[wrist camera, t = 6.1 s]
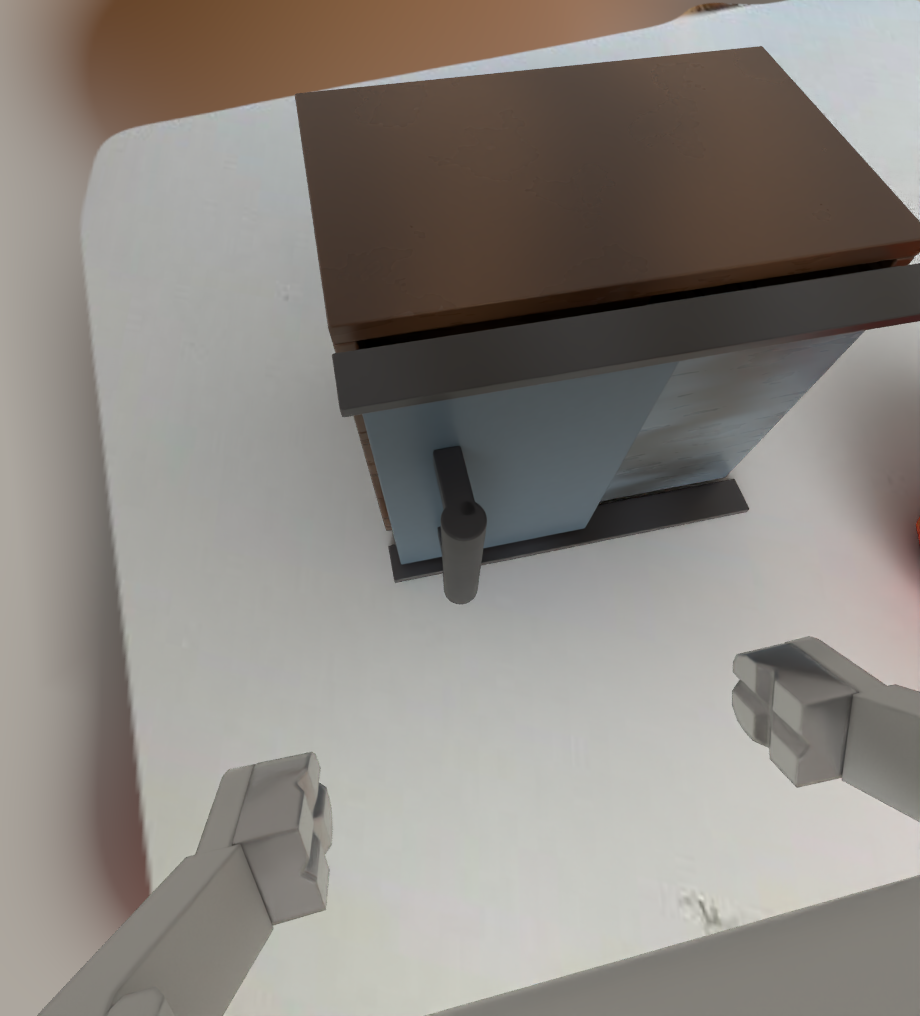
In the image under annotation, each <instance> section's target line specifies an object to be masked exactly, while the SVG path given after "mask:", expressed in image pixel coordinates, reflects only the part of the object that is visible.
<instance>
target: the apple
mask: <svg viewBox="0 0 920 1016" xmlns="http://www.w3.org/2000/svg"><path fill="white" fill-rule="evenodd" d="M916 528H917V534H918V539H919V544H920V517H919V519H918V521H917V523H916Z"/></svg>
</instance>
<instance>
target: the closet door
mask: <svg viewBox="0 0 920 1016" xmlns="http://www.w3.org/2000/svg"><path fill="white" fill-rule="evenodd" d="M678 363H679V361H677V362H671V363H665V364H660V365H654V366H648V367H642V368H636V369H630V370H624V371H618V372H612V373H606V374H600V375H594V376H588V377H582V378H576V379H570V380H564V381H558V382H552V383H546V384H540V385H534V386H528V387H522V388H516V389H510V390H504V391H498V392H492V393H486V394H480V395H474V396H468V397H462V398H456V399H450V400H444V401H438V402H432V403H426V404H420V405H414V406H408V407H402V408H396V409H390V410H384V411H378V412H372V413H366V414H362V415H363V419H364V423H365V427H366V430H367V434H368V438H369V442H370V446H371V450H372V454H373V458H374V461H375V465H376V469H377V473H378V477H379V481H380V485H381V489H382V492H383V496H384V500H385V504H386V508H387V512H388V516H389V519H390V523H391V527H392V531H393V535H394V539H395V543H396V547H397V550H398V554H399V558H400V562H401V564H407V563H412V562H417V561H422V560H427V559H432V558H438V557H442V561H443V582H444V592H445V595H446V597H447V598H448V599H449V600H450V601H451V602H453V603H455V604H466V603H468V602H470V601H471V600H473V599H474V597H475V596H476V593H477V589H478V582H479V575H480V568H481V561H482V554H483V548H488V547H493V546H498V545H503V544H508V543H513V542H518V541H523V540H528V539H533V538H538V537H543V536H548V535H553V534H558V533H564V532H569V531H574V530H579V529H584V528H585V527H586V526H587V524H588V522H589V520H590V518H591V517H592V515H593V513H594V511H595V510H596V508H597V506H598V504H599V503H600V501H601V499H602V497H603V495H604V494H605V492H606V490H607V488H608V487H609V485H610V483H611V481H612V480H613V478H614V476H615V474H616V472H617V471H618V469H619V467H620V465H621V464H622V462H623V460H624V458H625V457H626V455H627V453H628V451H629V449H630V448H631V446H632V444H633V442H634V441H635V439H636V437H637V435H638V434H639V432H640V430H641V428H642V426H643V425H644V423H645V421H646V419H647V418H648V416H649V414H650V412H651V411H652V409H653V407H654V405H655V404H656V402H657V400H658V398H659V396H660V395H661V393H662V391H663V389H664V388H665V386H666V384H667V382H668V381H669V379H670V377H671V375H672V373H673V372H674V370H675V368H676V366H677V365H678Z"/></svg>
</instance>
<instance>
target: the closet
mask: <svg viewBox="0 0 920 1016" xmlns="http://www.w3.org/2000/svg"><path fill="white" fill-rule="evenodd" d="M295 99H296V106H297V113H298V120H299V127H300V134H301V141H302V148H303V155H304V162H305V169H306V176H307V183H308V190H309V197H310V204H311V211H312V218H313V225H314V232H315V239H316V246H317V253H318V260H319V267H320V274H321V281H322V288H323V295H324V302H325V309H326V316H327V323H328V328H329V332H330V335H331V339H332V342H333V346H334V349H335V353H334V354H332V358H333V365H334V372H335V379H336V386H337V393H338V400H339V407H340V412H341V415H342V417H348V416H354V420H355V423H356V427H357V430H358V434H359V437H360V441H361V444H362V448H363V451H364V455H365V458H366V462H367V465H368V469H369V472H370V476H371V479H372V483H373V486H374V490H375V493H376V497H377V500H378V504H379V507H380V511H381V514H382V518H383V521H384V525H385V528H386V530H387V531H388V530H392V527H391V523H390V519H389V516H388V512H387V508H386V504H385V500H384V496H383V492H382V489H381V485H380V481H379V477H378V473H377V469H376V465H375V461H374V458H373V454H372V450H371V446H370V442H369V438H368V434H367V430H366V427H365V423H364V419H363V415H362V414H366V413H372V412H378V411H384V410H390V409H396V408H402V407H408V406H414V405H420V404H426V403H432V402H438V401H444V400H450V399H456V398H462V397H468V396H474V395H480V394H486V393H492V392H498V391H504V390H510V389H516V388H522V387H528V386H534V385H540V384H546V383H552V382H558V381H564V380H570V379H576V378H582V377H588V376H594V375H600V374H606V373H612V372H618V371H624V370H630V369H636V368H642V367H648V366H654V365H660V364H665V363H671V362H677V361H679V363H678V365H677V366H676V368H675V370H674V372H673V373H672V375H671V377H670V379H669V381H668V382H667V384H666V386H665V388H664V389H663V391H662V393H661V395H660V396H659V398H658V400H657V402H656V404H655V405H654V407H653V409H652V411H651V412H650V414H649V416H648V418H647V419H646V421H645V423H644V425H643V426H642V428H641V430H640V432H639V434H638V435H637V437H636V439H635V441H634V442H633V444H632V446H631V448H630V449H629V451H628V453H627V455H626V457H625V458H624V460H623V462H622V464H621V465H620V467H619V469H618V471H617V472H616V474H615V476H614V478H613V480H612V481H611V483H610V485H609V487H608V488H607V490H606V492H605V494H604V495H603V497H602V499H601V501H605V500H610V499H615V498H620V497H625V496H631V495H636V494H641V493H646V492H651V491H656V490H662V489H667V488H672V487H677V486H682V485H687V484H693V483H698V482H703V481H708V480H713V479H718V478H724V477H726V476H727V475H728V474H729V473H730V472H731V470H732V469H733V468H734V467H735V466H736V465H737V464H738V463H739V462H740V461H741V460H742V459H743V458H744V457H745V456H746V455H747V454H748V453H749V452H750V451H751V450H752V448H753V447H754V446H755V445H756V444H757V443H758V442H759V441H760V440H761V439H762V438H763V437H764V436H765V435H766V434H767V433H768V432H769V431H770V430H771V429H772V428H773V426H774V425H775V424H776V423H777V422H778V421H779V420H780V419H781V418H782V417H783V416H784V415H785V414H786V413H787V412H788V411H789V410H790V409H791V408H792V407H793V406H794V405H795V403H796V402H797V401H798V400H799V399H800V398H801V397H802V396H803V395H804V394H805V393H806V392H807V391H808V390H809V389H810V388H811V387H812V386H813V385H814V384H815V383H816V381H817V380H818V379H819V378H820V377H821V376H822V375H823V374H824V373H825V372H826V371H827V370H828V369H829V368H830V367H831V366H832V365H833V364H834V363H835V362H836V361H837V359H838V358H839V357H840V356H841V355H842V354H843V353H844V352H845V351H846V350H847V349H848V348H849V347H850V346H851V345H852V344H853V343H854V342H855V341H856V340H857V339H858V337H859V336H860V335H861V334H862V333H863V332H864V331H865V330H869V329H875V328H881V327H887V326H893V325H899V324H905V323H911V322H917V321H920V263H919V264H912V265H908V264H909V263H910V262H911V261H912V260H913V259H914V256H916V255H918V254H919V253H920V221H919V220H918V219H917V218H916V217H915V216H914V215H913V214H912V213H911V211H910V210H909V209H908V208H907V207H906V206H905V205H904V204H903V202H902V201H901V200H900V199H899V198H898V197H897V196H896V195H895V194H894V192H893V191H892V190H891V189H890V188H889V187H888V186H887V185H886V184H885V182H884V181H883V180H882V179H881V178H880V177H879V176H878V175H877V174H876V172H875V171H874V170H873V169H872V168H871V167H870V166H869V165H868V164H867V162H866V161H865V160H864V159H863V158H862V157H861V156H860V155H859V154H858V152H857V151H856V150H855V149H854V148H853V147H852V146H851V145H850V144H849V142H848V141H847V140H846V139H845V138H844V137H843V136H842V135H841V134H840V132H839V131H838V130H837V129H836V128H835V127H834V126H833V125H832V123H831V122H830V121H829V120H828V119H827V118H826V117H825V116H824V115H823V113H822V112H821V111H820V110H819V109H818V108H817V107H816V106H815V105H814V103H813V102H812V101H811V100H810V99H809V98H808V97H807V96H806V95H805V93H804V92H803V91H802V90H801V89H800V88H799V87H798V86H797V85H796V83H795V82H794V81H793V80H792V79H791V78H790V77H789V76H788V75H787V73H786V72H785V71H784V70H783V69H782V68H781V67H780V66H779V65H778V63H777V62H776V61H775V60H774V59H773V58H772V57H771V56H770V54H769V53H768V52H767V51H766V50H765V49H764V48H763V47H762V46H760V47H750V48H740V49H730V50H720V51H711V52H701V53H691V54H681V55H671V56H661V57H652V58H642V59H632V60H622V61H612V62H602V63H593V64H583V65H573V66H563V67H553V68H544V69H534V70H524V71H514V72H504V73H494V74H485V75H475V76H465V77H455V78H445V79H436V80H426V81H416V82H406V83H396V84H386V85H377V86H367V87H357V88H347V89H337V90H327V91H318V92H308V93H299V94H295ZM748 510H749V507H748V505H747V503H746V501H745V499H744V497H743V495H742V493H741V491H740V489H739V487H738V485H737V483H736V481H735V479H731V480H726V481H721V482H715V483H710V484H705V485H700V486H695V487H690V488H685V489H679V490H674V491H669V492H664V493H659V494H654V495H648V496H643V497H638V498H633V499H628V500H623V501H618V502H612V503H607V504H602V505H598V506H597V508H596V510H595V511H594V513H593V515H592V517H591V518H590V520H589V522H588V524H587V526H586V527H585V528H584V529H579V530H574V531H569V532H564V533H558V534H553V535H548V536H543V537H538V538H533V539H528V540H523V541H518V542H513V543H508V544H503V545H498V546H493V547H488V548H483V554H482V561H481V565H486V564H491V563H496V562H501V561H506V560H511V559H516V558H521V557H525V556H530V555H535V554H540V553H545V552H550V551H555V550H560V549H565V548H570V547H575V546H580V545H585V544H590V543H595V542H600V541H605V540H610V539H615V538H620V537H625V536H630V535H635V534H639V533H644V532H649V531H654V530H659V529H664V528H669V527H674V526H679V525H684V524H689V523H694V522H699V521H704V520H709V519H714V518H719V517H724V516H729V515H734V514H739V513H744V512H747V511H748ZM389 552H390V558H391V564H392V570H393V576H394V581H395V583H397V582H402V581H407V580H411V579H416V578H421V577H426V576H431V575H436V574H441V573H443V561H442V557H438V558H432V559H427V560H422V561H417V562H412V563H407V564H401V562H400V558H399V554H398V550H397V547H396V545H391V546H389Z"/></svg>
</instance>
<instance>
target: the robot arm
mask: <svg viewBox="0 0 920 1016" xmlns="http://www.w3.org/2000/svg"><path fill="white" fill-rule="evenodd" d="M733 673H734V674H735V675H736V676H737V677H738V678H739V679H740V680H739V682H738V683H737V685H736V686H735V687H734V689H733V690H732V706H733V709H734V712H735V715H736V718H737V720H738V722H739V724H740V725H741V727H742V729H743V730H744V731H745V733H746V734H747V735H748V736H749V737H750V738H751V739H752V740H753V741H755V742H757V743H759V744H761V745H764V746H766V747H768V748H769V756H770V760H771V761H772V762H773V763H774V764H775V765H776V766H777V767H778V768H779V769H780V770H781V771H782V773H783V774H784V775H785V776H786V777H787V778H788V779H789V780H790V781H791V782H792V783H793V784H794V785H795V786H796V787H797V788H798V787H802V786H807V785H811V784H816V783H820V782H824V781H829V780H833V779H838V778H842V781H844V782H846V783H848V784H850V785H852V786H854V787H855V788H857V789H859V790H861V791H863V792H865V793H867V794H868V795H870V796H872V797H874V798H876V799H878V800H880V801H882V802H883V803H885V804H887V805H889V806H891V807H893V808H895V809H896V810H898V811H900V812H902V813H904V814H906V815H908V816H909V817H911V818H913V819H915V820H917V821H919V822H920V692H919V691H915V690H912V689H909V688H905V687H902V686H899V685H891V686H886V685H885V684H883V683H882V682H881V681H879V680H878V679H876V678H875V677H873V676H872V675H870V674H869V673H867V672H866V671H864V670H863V669H862V668H860V667H859V666H857V665H856V664H854V663H853V662H851V661H850V660H848V659H847V658H845V657H844V656H843V655H841V654H840V653H838V652H837V651H835V650H834V649H832V648H831V647H829V646H828V645H826V644H825V643H824V642H822V641H821V640H819V639H817V638H814V637H810V636H808V637H804V638H800V639H796V640H792V641H788V642H785V643H784V644H778V645H774V646H770V647H765V648H761V649H757V650H753V651H749V652H744V653H740V654H737V655H736V657H735V659H734V661H733ZM320 769H321V768H320V765H319V762H318V759H317V756H316V754H315V753H313V752H309V753H304V754H299V755H294V756H289V757H285V758H280V759H275V760H270V761H265V762H260V763H257V764H253V765H248V766H243V767H239V768H234V769H229V770H228V771H227V772H226V773H225V774H224V775H223V777H222V779H221V782H220V785H219V788H218V790H217V793H216V796H215V799H214V802H213V805H212V808H211V811H210V814H209V816H208V819H207V822H206V825H205V828H204V831H203V834H202V837H201V840H200V842H199V845H198V848H197V851H196V854H195V855H192V856H189V857H186V858H185V859H184V860H183V861H182V862H181V863H180V864H179V865H178V866H177V867H176V868H175V869H174V870H173V871H172V873H171V874H170V875H169V876H168V877H167V878H166V879H165V880H164V881H163V882H162V883H161V884H160V885H159V886H158V887H157V888H156V890H155V891H154V892H153V893H152V894H151V895H150V896H149V897H148V898H147V899H146V900H145V901H144V902H143V903H142V904H141V906H140V907H139V908H138V909H137V910H136V911H135V912H134V913H133V914H132V915H131V916H130V917H129V918H128V919H127V920H126V922H125V923H124V924H123V925H122V926H121V927H120V928H119V929H118V930H117V931H116V932H115V933H114V934H113V935H112V936H111V937H110V938H109V939H108V941H107V942H106V943H105V944H104V945H103V946H102V947H101V948H100V949H99V950H98V951H97V952H96V953H95V954H94V955H93V956H92V958H91V959H90V960H89V961H88V962H87V963H86V964H85V965H84V966H83V967H82V968H81V969H80V970H79V971H78V972H77V974H76V975H75V976H74V977H73V978H72V979H71V980H70V981H69V982H68V983H67V984H66V985H65V986H64V987H63V988H62V990H61V991H60V992H59V993H58V994H57V995H56V996H55V997H54V998H53V999H52V1000H51V1001H50V1002H49V1003H48V1004H47V1005H46V1007H44V1009H43V1010H42V1011H41V1012H40V1013H39V1014H38V1016H223V1014H224V1013H225V1011H226V1009H227V1008H228V1006H229V1004H230V1002H231V1001H232V999H233V997H234V996H235V994H236V992H237V990H238V989H239V987H240V985H241V984H242V982H243V980H244V978H245V977H246V975H247V973H248V972H249V970H250V968H251V967H252V965H253V963H254V961H255V960H256V958H257V956H258V955H259V953H260V951H261V949H262V948H263V946H264V944H265V943H266V941H267V939H268V937H269V936H270V934H271V932H272V931H273V925H276V924H279V923H283V922H286V921H290V920H293V919H297V918H300V917H303V916H307V915H310V914H314V913H317V912H321V911H324V910H326V904H327V893H328V882H329V867H328V863H327V860H326V857H325V854H326V852H327V851H328V850H329V848H330V847H331V845H332V832H333V826H332V810H331V804H330V798H329V795H328V791H327V788H326V787H325V786H324V785H322V784H321V783H319V778H320ZM425 1016H920V875H918V876H914V877H911V878H907V879H904V880H900V881H897V882H893V883H890V884H886V885H883V886H879V887H876V888H872V889H869V890H865V891H862V892H858V893H855V894H851V895H848V896H844V897H841V898H837V899H834V900H830V901H827V902H823V903H819V904H816V905H812V906H809V907H805V908H802V909H798V910H795V911H791V912H788V913H784V914H781V915H777V916H774V917H770V918H767V919H763V920H760V921H756V922H753V923H749V924H746V925H742V926H739V927H735V928H732V929H728V930H725V931H721V932H718V933H714V934H711V935H707V936H704V937H700V938H697V939H693V940H690V941H686V942H683V943H679V944H676V945H672V946H669V947H665V948H662V949H658V950H655V951H651V952H648V953H644V954H641V955H637V956H634V957H630V958H627V959H623V960H620V961H616V962H613V963H609V964H606V965H602V966H599V967H595V968H592V969H588V970H585V971H581V972H577V973H574V974H570V975H567V976H563V977H560V978H556V979H553V980H549V981H546V982H542V983H539V984H535V985H531V986H528V987H524V988H521V989H517V990H514V991H510V992H507V993H503V994H500V995H496V996H493V997H489V998H486V999H482V1000H478V1001H475V1002H471V1003H468V1004H464V1005H461V1006H457V1007H454V1008H450V1009H447V1010H443V1011H440V1012H436V1013H432V1014H429V1015H425Z"/></svg>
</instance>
